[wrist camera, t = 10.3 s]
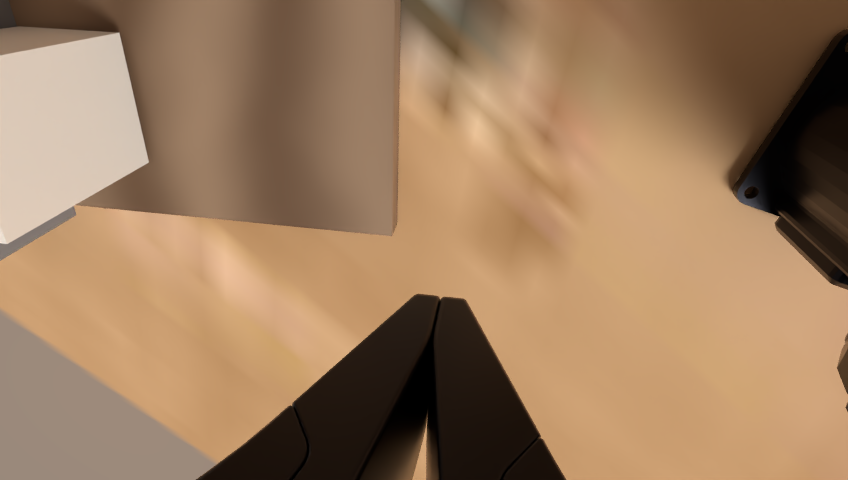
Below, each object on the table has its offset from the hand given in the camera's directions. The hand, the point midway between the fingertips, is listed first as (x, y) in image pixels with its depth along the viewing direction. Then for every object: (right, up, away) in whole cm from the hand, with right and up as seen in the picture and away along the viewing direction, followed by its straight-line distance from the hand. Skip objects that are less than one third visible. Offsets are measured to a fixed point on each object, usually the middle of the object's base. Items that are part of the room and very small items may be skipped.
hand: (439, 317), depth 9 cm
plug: (-15, +7, +12) cm, 20 cm away
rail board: (-11, +7, +13) cm, 19 cm away
